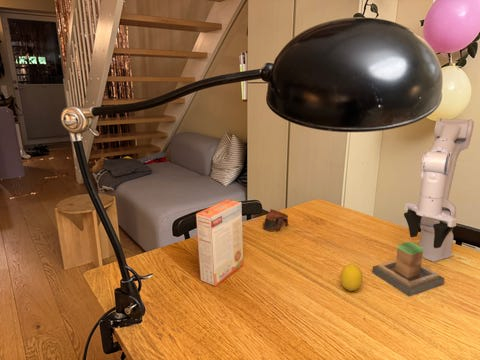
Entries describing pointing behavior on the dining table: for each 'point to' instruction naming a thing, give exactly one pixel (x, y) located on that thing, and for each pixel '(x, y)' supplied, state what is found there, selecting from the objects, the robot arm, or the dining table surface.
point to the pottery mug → (278, 222)
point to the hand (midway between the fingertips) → (424, 241)
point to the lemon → (351, 277)
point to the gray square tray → (408, 279)
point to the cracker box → (220, 241)
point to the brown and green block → (409, 259)
